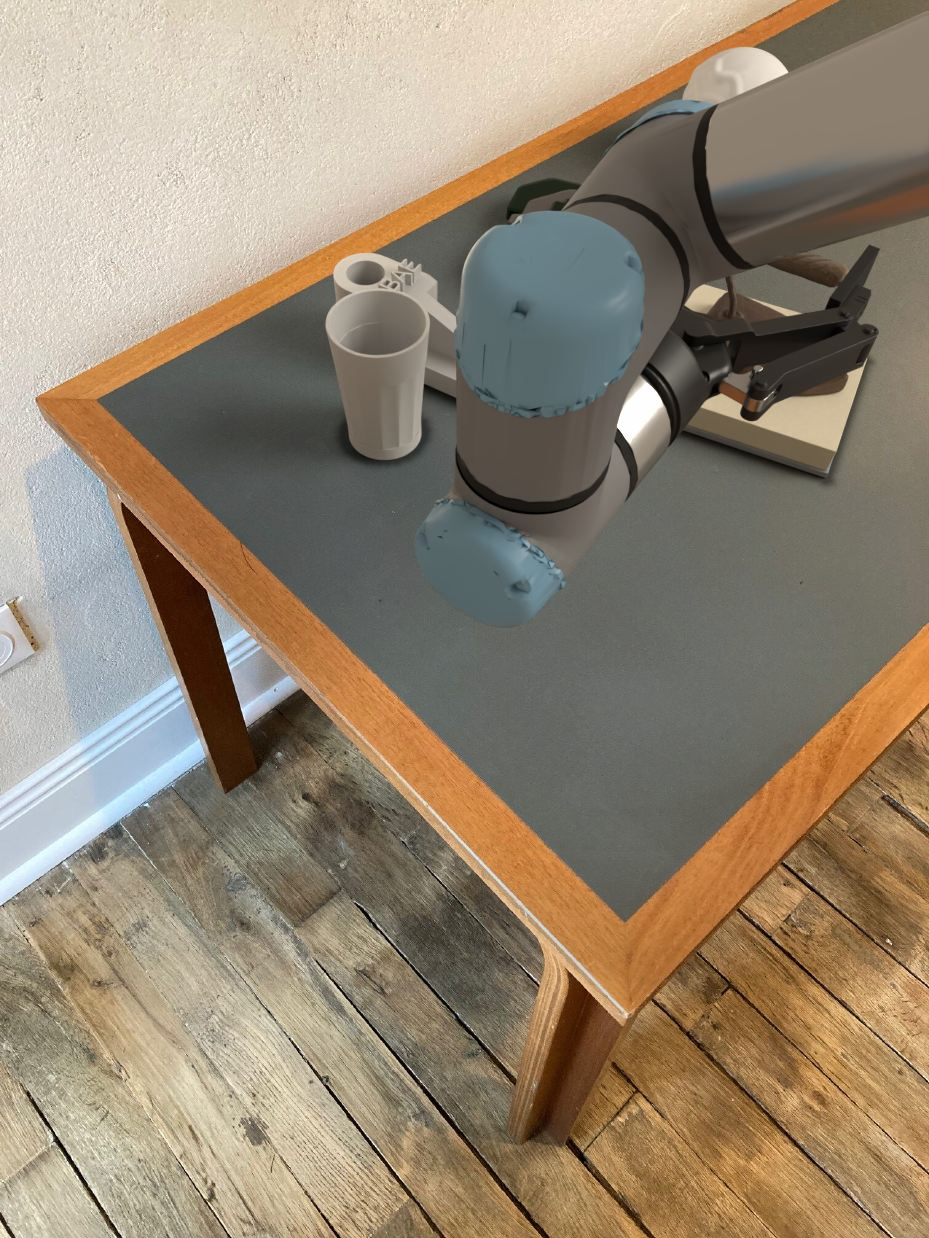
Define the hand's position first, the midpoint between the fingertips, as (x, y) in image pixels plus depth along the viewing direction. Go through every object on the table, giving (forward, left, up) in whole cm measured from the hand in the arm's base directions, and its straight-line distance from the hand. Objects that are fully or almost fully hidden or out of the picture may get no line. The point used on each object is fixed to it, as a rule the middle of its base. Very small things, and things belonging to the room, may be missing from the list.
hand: (772, 227), depth 64 cm
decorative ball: (+10, -43, -22) cm, 49 cm away
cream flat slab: (-2, -10, -22) cm, 24 cm away
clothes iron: (-3, -10, -19) cm, 21 cm away
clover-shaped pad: (+18, -20, -22) cm, 34 cm away
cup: (+25, +10, -22) cm, 35 cm away
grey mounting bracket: (+26, 0, -22) cm, 34 cm away
